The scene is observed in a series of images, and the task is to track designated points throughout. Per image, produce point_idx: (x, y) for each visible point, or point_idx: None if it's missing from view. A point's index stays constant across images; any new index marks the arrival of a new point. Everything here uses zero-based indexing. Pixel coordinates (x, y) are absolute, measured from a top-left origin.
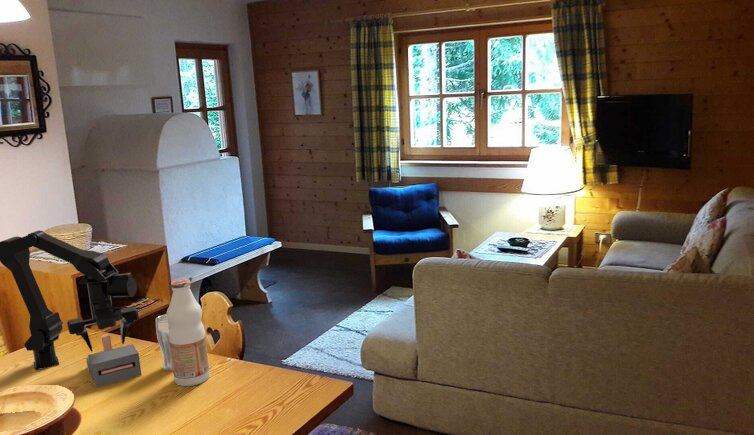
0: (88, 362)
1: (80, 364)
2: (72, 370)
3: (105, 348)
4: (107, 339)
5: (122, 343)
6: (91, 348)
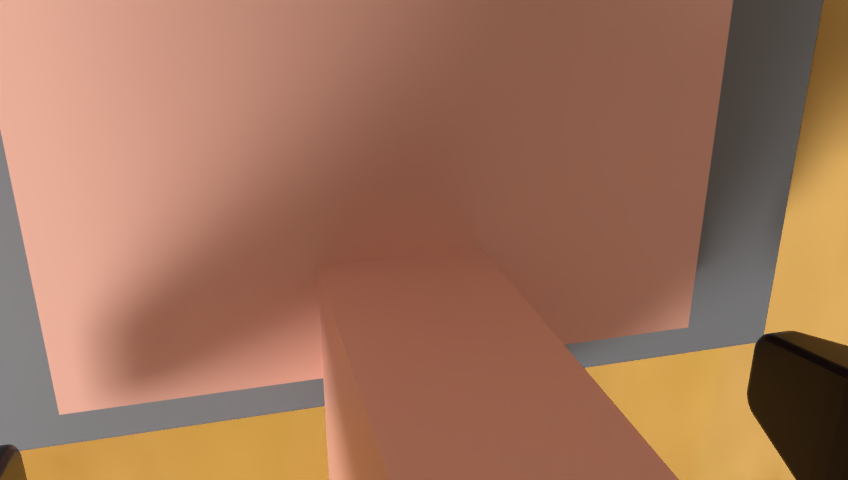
0: (798, 88)
1: (702, 429)
2: (830, 281)
3: (505, 304)
4: (513, 468)
5: (15, 457)
6: (833, 360)
